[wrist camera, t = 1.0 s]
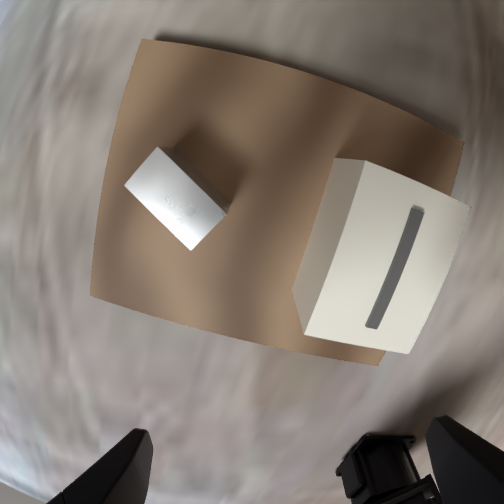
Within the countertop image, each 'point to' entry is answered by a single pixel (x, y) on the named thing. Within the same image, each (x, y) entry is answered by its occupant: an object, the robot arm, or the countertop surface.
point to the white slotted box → (376, 257)
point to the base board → (243, 187)
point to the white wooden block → (178, 195)
